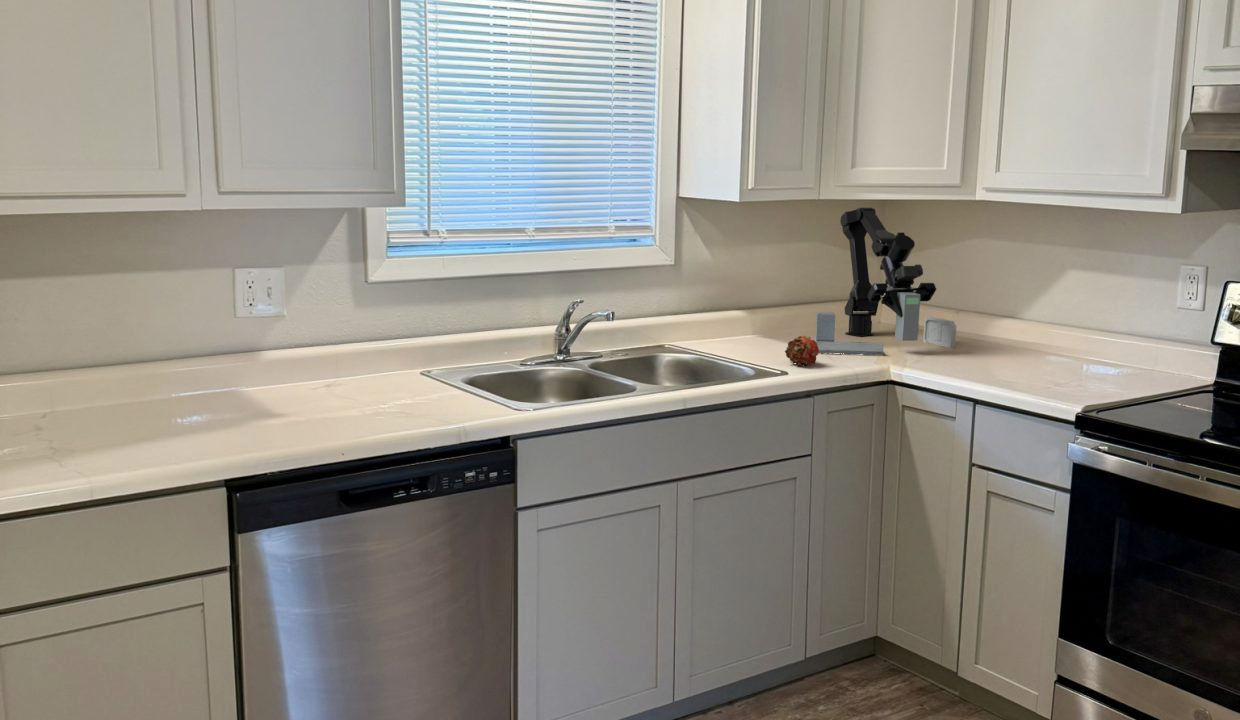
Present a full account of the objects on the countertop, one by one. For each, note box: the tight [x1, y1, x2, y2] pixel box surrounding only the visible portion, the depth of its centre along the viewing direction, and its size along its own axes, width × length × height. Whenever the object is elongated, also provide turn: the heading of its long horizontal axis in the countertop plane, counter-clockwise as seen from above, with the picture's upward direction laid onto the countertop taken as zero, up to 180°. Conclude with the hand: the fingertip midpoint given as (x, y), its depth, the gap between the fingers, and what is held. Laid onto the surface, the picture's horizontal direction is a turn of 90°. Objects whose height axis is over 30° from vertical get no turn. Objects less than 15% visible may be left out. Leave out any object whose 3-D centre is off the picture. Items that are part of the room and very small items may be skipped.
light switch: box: [922, 316, 957, 349], centre depth 327 cm, size 2×12×8 cm, turn 25°
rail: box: [815, 311, 884, 356], centre depth 312 cm, size 18×7×11 cm, turn 82°
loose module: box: [894, 292, 921, 342], centre depth 311 cm, size 5×4×13 cm
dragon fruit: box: [784, 335, 819, 366], centre depth 294 cm, size 8×8×12 cm
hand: (909, 316), depth 309 cm, fingers closed on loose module, 4 cm apart
